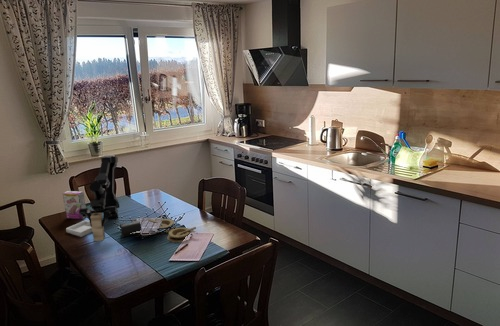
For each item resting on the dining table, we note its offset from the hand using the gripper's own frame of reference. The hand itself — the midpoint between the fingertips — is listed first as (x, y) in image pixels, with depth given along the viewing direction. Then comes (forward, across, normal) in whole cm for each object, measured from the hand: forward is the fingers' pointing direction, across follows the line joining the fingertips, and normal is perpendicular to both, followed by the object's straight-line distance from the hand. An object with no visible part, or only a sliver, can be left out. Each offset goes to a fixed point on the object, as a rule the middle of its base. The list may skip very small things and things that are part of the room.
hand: (97, 226), depth 198 cm
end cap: (+3, +16, +8) cm, 18 cm away
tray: (-5, -12, +15) cm, 20 cm away
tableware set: (+4, +38, +8) cm, 39 cm away
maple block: (+5, 0, +6) cm, 8 cm away
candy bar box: (-18, -22, +30) cm, 41 cm away
